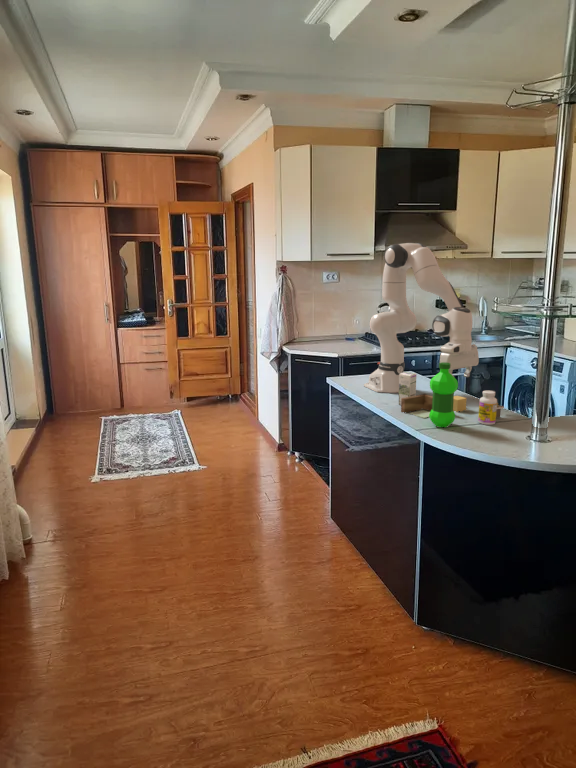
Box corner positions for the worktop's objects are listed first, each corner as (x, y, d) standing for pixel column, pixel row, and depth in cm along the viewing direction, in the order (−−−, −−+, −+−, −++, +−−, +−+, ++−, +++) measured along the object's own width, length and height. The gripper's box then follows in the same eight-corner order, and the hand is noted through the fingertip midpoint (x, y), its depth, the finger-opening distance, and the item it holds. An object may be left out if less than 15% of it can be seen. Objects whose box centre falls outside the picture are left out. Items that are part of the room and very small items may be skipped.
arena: (400, 411, 241) (401, 398, 239) (423, 407, 247) (424, 393, 246) (427, 420, 228) (427, 406, 226) (450, 415, 234) (451, 401, 233)
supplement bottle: (474, 422, 224) (476, 391, 221) (484, 419, 228) (486, 388, 225) (489, 426, 219) (491, 394, 216) (499, 423, 223) (501, 391, 220)
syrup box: (416, 404, 252) (417, 373, 248) (409, 407, 247) (410, 375, 244) (404, 402, 255) (406, 371, 252) (397, 405, 251) (398, 373, 248)
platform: (463, 417, 233) (464, 401, 232) (499, 412, 239) (500, 397, 237) (481, 425, 222) (482, 409, 221) (518, 420, 228) (520, 404, 226)
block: (447, 409, 243) (447, 397, 242) (456, 407, 246) (456, 395, 245) (456, 412, 239) (457, 400, 238) (465, 410, 242) (466, 398, 240)
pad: (410, 413, 237) (410, 413, 237) (423, 410, 241) (423, 410, 241) (423, 418, 231) (423, 417, 231) (437, 415, 235) (437, 414, 235)
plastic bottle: (444, 431, 214) (447, 367, 208) (422, 424, 223) (425, 363, 217) (460, 426, 220) (464, 363, 214) (439, 420, 228) (442, 359, 223)
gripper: (471, 343, 244) (469, 374, 247) (437, 347, 233) (436, 380, 236) (483, 344, 239) (481, 376, 242) (449, 349, 228) (447, 382, 231)
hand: (459, 378), depth 239 cm, fingers open, 8 cm apart
